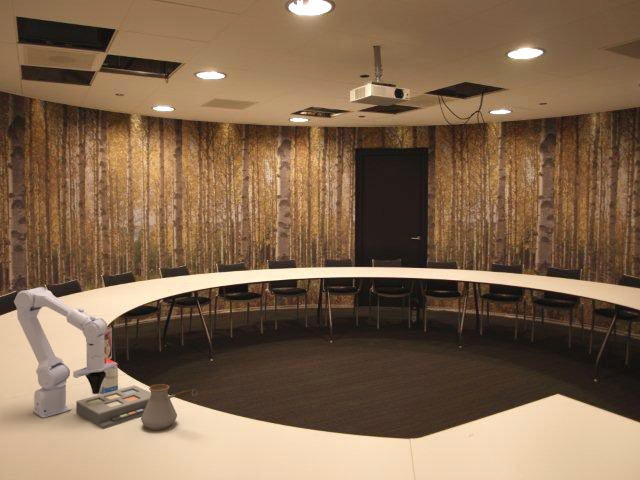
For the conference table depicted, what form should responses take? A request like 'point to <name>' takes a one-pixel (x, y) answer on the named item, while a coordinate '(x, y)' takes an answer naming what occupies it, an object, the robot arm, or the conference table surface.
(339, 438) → the conference table surface
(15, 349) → the conference table surface
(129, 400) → the key terracotta
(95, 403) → the key sage
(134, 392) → the key slate
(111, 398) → the key sand
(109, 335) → the open printed carton
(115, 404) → the key cream
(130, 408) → the grey sorting tray
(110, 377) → the ink box
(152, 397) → the coffee pot
